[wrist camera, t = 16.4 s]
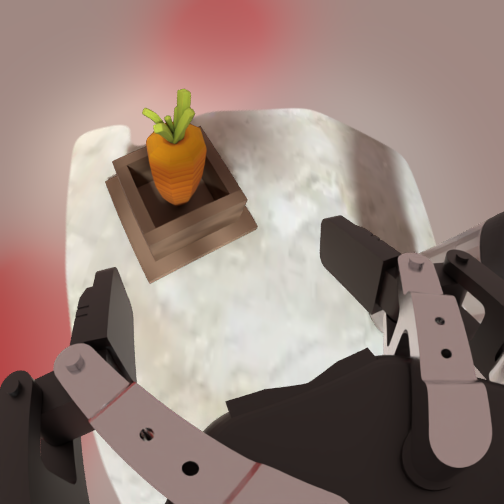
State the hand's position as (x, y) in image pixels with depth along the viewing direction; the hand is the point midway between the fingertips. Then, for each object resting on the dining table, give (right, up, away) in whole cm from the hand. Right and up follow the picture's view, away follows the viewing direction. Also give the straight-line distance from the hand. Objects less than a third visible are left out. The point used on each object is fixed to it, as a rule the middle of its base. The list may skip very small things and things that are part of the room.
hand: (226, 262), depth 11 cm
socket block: (-7, +6, +21) cm, 23 cm away
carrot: (-7, +6, +20) cm, 22 cm away
